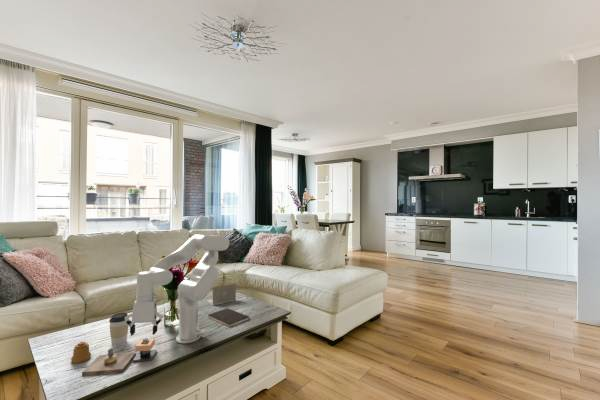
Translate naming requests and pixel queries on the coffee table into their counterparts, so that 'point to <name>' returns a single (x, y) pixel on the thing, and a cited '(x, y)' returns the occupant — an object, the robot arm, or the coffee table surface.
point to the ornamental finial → (81, 353)
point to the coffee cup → (118, 329)
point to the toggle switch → (109, 363)
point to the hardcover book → (228, 317)
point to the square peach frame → (145, 345)
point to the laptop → (223, 294)
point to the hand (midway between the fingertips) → (143, 333)
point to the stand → (145, 354)
